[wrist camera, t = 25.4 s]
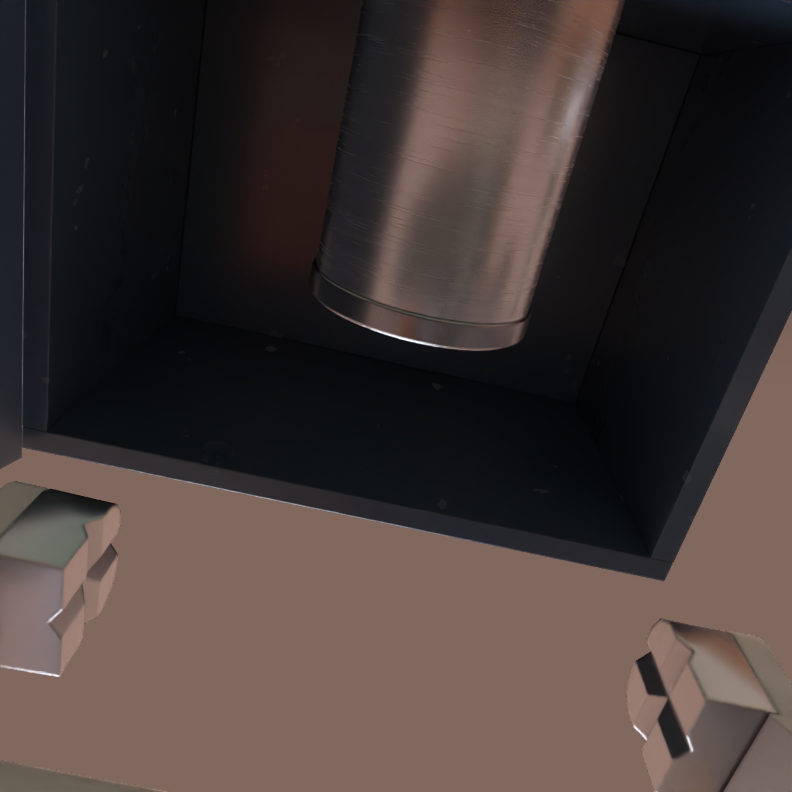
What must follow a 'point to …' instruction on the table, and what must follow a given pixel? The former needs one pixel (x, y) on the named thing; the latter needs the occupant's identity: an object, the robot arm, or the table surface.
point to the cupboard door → (11, 225)
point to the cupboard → (375, 352)
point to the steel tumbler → (456, 163)
